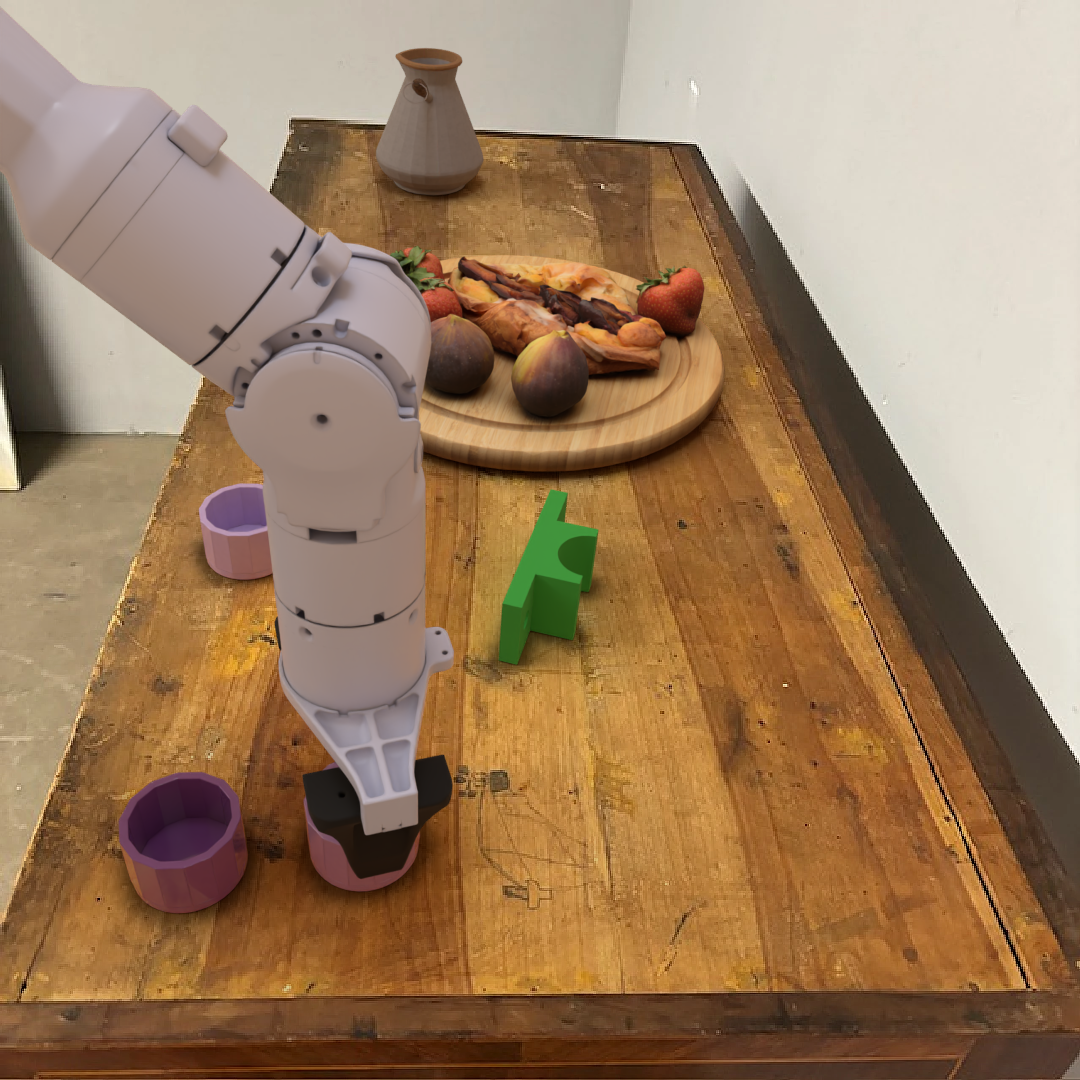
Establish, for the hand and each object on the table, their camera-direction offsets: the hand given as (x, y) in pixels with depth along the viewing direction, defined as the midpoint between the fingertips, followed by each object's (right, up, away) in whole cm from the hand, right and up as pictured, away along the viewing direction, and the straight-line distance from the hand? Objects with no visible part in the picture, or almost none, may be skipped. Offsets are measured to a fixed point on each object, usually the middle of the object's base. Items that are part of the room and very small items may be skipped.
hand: (363, 797), depth 50 cm
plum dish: (-8, -3, +1) cm, 9 cm away
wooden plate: (+7, +26, +39) cm, 47 cm away
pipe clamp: (+9, +8, +16) cm, 20 cm away
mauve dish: (0, -3, +2) cm, 4 cm away
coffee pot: (-4, +47, +63) cm, 79 cm away
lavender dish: (-10, +11, +18) cm, 24 cm away
